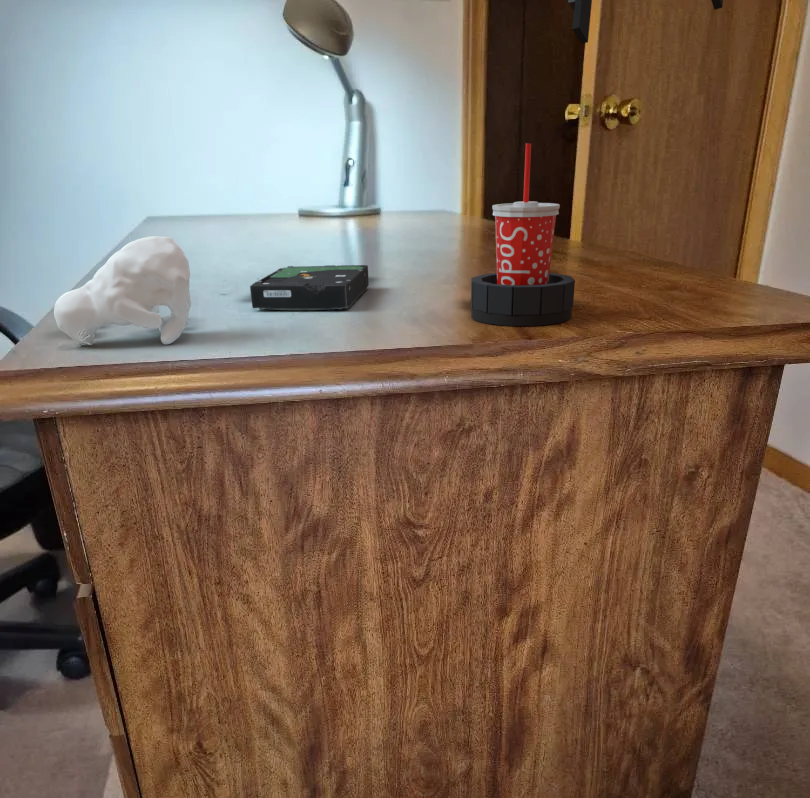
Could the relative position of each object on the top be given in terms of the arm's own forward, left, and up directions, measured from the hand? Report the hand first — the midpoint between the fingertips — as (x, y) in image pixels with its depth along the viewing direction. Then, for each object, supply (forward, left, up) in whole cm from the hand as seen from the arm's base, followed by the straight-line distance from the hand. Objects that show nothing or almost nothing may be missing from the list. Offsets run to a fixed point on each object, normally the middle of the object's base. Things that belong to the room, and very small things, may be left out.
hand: (644, 19), depth 80 cm
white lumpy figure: (+2, +55, -26) cm, 61 cm away
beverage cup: (-8, +20, -25) cm, 33 cm away
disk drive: (+13, +33, -26) cm, 44 cm away
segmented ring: (-8, +20, -26) cm, 34 cm away
